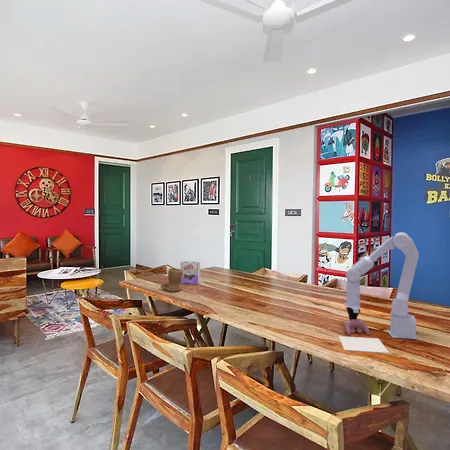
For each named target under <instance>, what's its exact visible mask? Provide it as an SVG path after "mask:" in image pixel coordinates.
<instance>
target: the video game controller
mask: <svg viewBox="0 0 450 450" xmlns="http://www.w3.org/2000/svg"><path fill="white" fill-rule="evenodd" d="M343 326H344V329H345V332H346V334H347V336H348V337H351V334H354V333H355V332H356V333H357V334H360V333H362V332H363V331H364V333H365V334H366V335H367V336H369V335H370V329H369V327H368V325H367V324H366V321H364V320H362V319H358V318H357V319H352V320H349V319H348V320H346V321H344V323H343ZM355 327H356V329H355Z"/></svg>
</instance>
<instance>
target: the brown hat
mask: <svg viewBox="0 0 450 450" xmlns="http://www.w3.org/2000/svg"><path fill="white" fill-rule="evenodd" d="M182 275H183V271H182V270H181V268H177V267H170V268H169V269H168V272H167V278H168V283H163V284H161V285H160V288H162V289H164V290H166V291H170V292H178V291H181V290H183V289H182V287H181V285H180V284H181V278H182Z"/></svg>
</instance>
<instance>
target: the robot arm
mask: <svg viewBox="0 0 450 450" xmlns="http://www.w3.org/2000/svg"><path fill="white" fill-rule="evenodd" d="M396 248H397V249H399V250H400V251H401V252H402V254H403V255H404V256H405V259H404V263H403V267H402V271H401V272H402V273H401V275H400V279H399V284H398V288H397V292H396V294H395V295H396V296H395V297H394V298H393V299H392V302H391V311H390V313H389V314H390V322H389V324H390V327H389V328H390V329H387V330H386V332H387V333H388V334H389V335H390V337H392V338H395V339H410V340H417V339H418V338H417V319H416V316H415V315H413V314H410V313H409V299H410V298H409V297H410V293H411V288H412V285H413V282H414V277H415V273H416V269H417V265H418V261H419V255H420V254H419V251H418V249H417V246H416V244H415V243H414V240H413V239H412V238H411V237H410V235H408V234H407V233H406V232H404V231H400V232H397V233H395V234H394V236H391V237H389V238H388V239H387V240H385V241H384V242H383V243H382V244H381V245H379V246H378V247H377V248H376V249H375V250H374V251H372V253H371V254H370V255H367V256H363V257H362V256H360V257H359V258H358V259H359V260H358V261H357V262H355V264H352V265H351V266H350V267H351V268H349V269H347V270H346V272H345V277H346V278H345V279H346V287H345V288H346V290H345V291H346V292H345V295H346V298H345V299H346V302H343V306H345V310H346V311H347V315H348V320H352V319H358V316H359V314H360V313H361V309H360V307H361V303H360V302H361V284H360V278H361V277H362V276H364V275H365V274H366V273H367V272H368V271H369V270H371V269H372V268H374V266H375V261H377V260H378V259H379V258H381V256H383V255H384V254H386V253H387V251H392V250H395V249H396Z"/></svg>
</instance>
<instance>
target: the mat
mask: <svg viewBox="0 0 450 450" xmlns="http://www.w3.org/2000/svg"><path fill="white" fill-rule="evenodd" d="M338 339H339V341H340V344H341V345H342V347H343V350H344V351H350V352H365V353H381V354H382V353H383V354H390V352H389V350H388V349H387V348H386V346H385V345H384V344H383V342H382V341H381V339H379V338H377V337H376V338H375V337H361V336H358V337H357V336H356V337H355V336H343V335H342V336H341V335H339V336H338Z"/></svg>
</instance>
